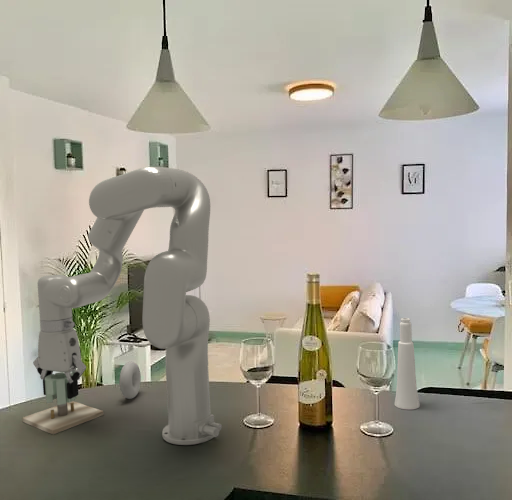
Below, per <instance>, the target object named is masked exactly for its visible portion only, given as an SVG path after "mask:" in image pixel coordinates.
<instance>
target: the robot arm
mask: <svg viewBox="0 0 512 500" xmlns="http://www.w3.org/2000/svg"><path fill="white" fill-rule="evenodd" d="M88 204H89V206H88V207H89V209H90V211H91V213H92V214H93V215H94V216H95V217H96V219H95V221H94V223H93V224H92V227H91V228H90V230H89V232H88V234H87V235H88V241H89V242H90V243H91V245H92V246H93V247H94V248H96V249H97V250H98V251H99V252H98V257H97V260H96V261H95V264H94V265H93V267H92V269H91V270H90V272H87V273H81V274H77V275H73V276H67V275H64V274H52V275H44V276H41V277H39V279H38V280H37V294H38V295H37V297H38V310H39V312H38V313H39V327H40V328H39V329H40V331H39V332H38V333H39V334H38V342H37V357H36V359H34V361H33V363H32V364H33V365H34V367H35V368H36V371H37V373H38V374H39V375H40V376H39V377H40V379H41V380H42V388H43V389H42V390H43V396H46V390H45V377H46V376H48V375H51V374H54V373H53V372H55V373H60V372H64V373H65V375H66V377H67V379H68V383H67V398H68V399H71V398H73V397H75V396H76V397H77V396H79V383H78V381H79V380H80V379H81V378H82V375H83V373H84V372H85V371H86V369H87V366H86V364H85V363H84V362H83V361H82V355H81V354H82V353H81V348H80V341H79V338H78V334H77V330H76V329H74V327H75V325H76V324H75V323H76V322H74V321H73V309H78V308H80V307H84V306H87V305H89V304H94V303H97V302H100V301H103V300H105V299H106V298H107V297H108V295H109V294H110V293H111V292H112V290H113V288H115V287H114V286H115V285H116V283H117V281H118V279H119V278H120V275H121V272H122V270H123V262H124V261H123V260H124V258H123V257H124V256H123V250H124V247H125V246H126V244H127V242H128V241H129V238H130V237H131V235H132V233H133V231H134V229H135V228H136V226H137V224H138V222H139V220H140V218H141V217H142V215H143V213H144V211H145V210H147V209H155V208H172V209H174V215H173V217H172V220H171V223H170V228H169V243H168V250H166V251H163V252H160V253H158V254H156V255H154V256H153V257H152V258H151V260H150V261H149V262H148V264H147V266H146V268H145V273H144V278H143V295H142V296H143V297H142V298H143V301H142V317H141V318H142V330H143V334H144V336H145V338H146V340H147V341H148V342H149V344H151V345H152V346H153V347H155V348H158V349H160V350H165V379H166V380H165V381H166V397H167V398H166V399H167V417H168V424H166V425H165V426H164V427H163V429H162V432H161V433H162V434H161V435H162V439H163V440H164V441H165V442H167V443H169V444H173V445H180V446H192V445H197V444H202V443H205V442H208V441H210V440H212V439H214V438H217V437H218V436H219V434H220V431H221V430H222V429H223V425H222V424H221V423H218V422H217V423H216V422H215V415H214V414H212V413H211V399H210V397H211V396H210V379H209V346H208V345H209V335H210V325H211V324H210V320H211V319H210V312H209V309H208V306H207V305H206V303H205V302H204V301H203V300H202V299H201V298H200V297H198V296H195V295H192V294H191V295H189V294H187V293H188V292H192V291H194V290H196V289H198V288H200V287H201V286H202V285H203V284H204V283H205V280H206V278H207V272H208V255H209V254H208V253H209V231H210V219H211V198H210V194H209V192H208V189H207V188H206V186H205V183H203V182H202V181H201V180H200V179H199V178H198V177H197V176H195V175H194V174H192V173H191V172H188V171H185V170H182V169H179V168H172V167H171V168H170V167H162V166H161V167H160V166H145V167H140V168H137V169H133V170H131V171H129V172H126V173H123V174H120V175H116V176H113V177H110V178H107V179H105V180H102V181H100V182H99V183H97V184H96V185H95V186H94V187H93V188H92V190H91V191H90V195H89V198H88ZM70 372H72V374H73V376H72V375H71V373H70Z"/></svg>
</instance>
